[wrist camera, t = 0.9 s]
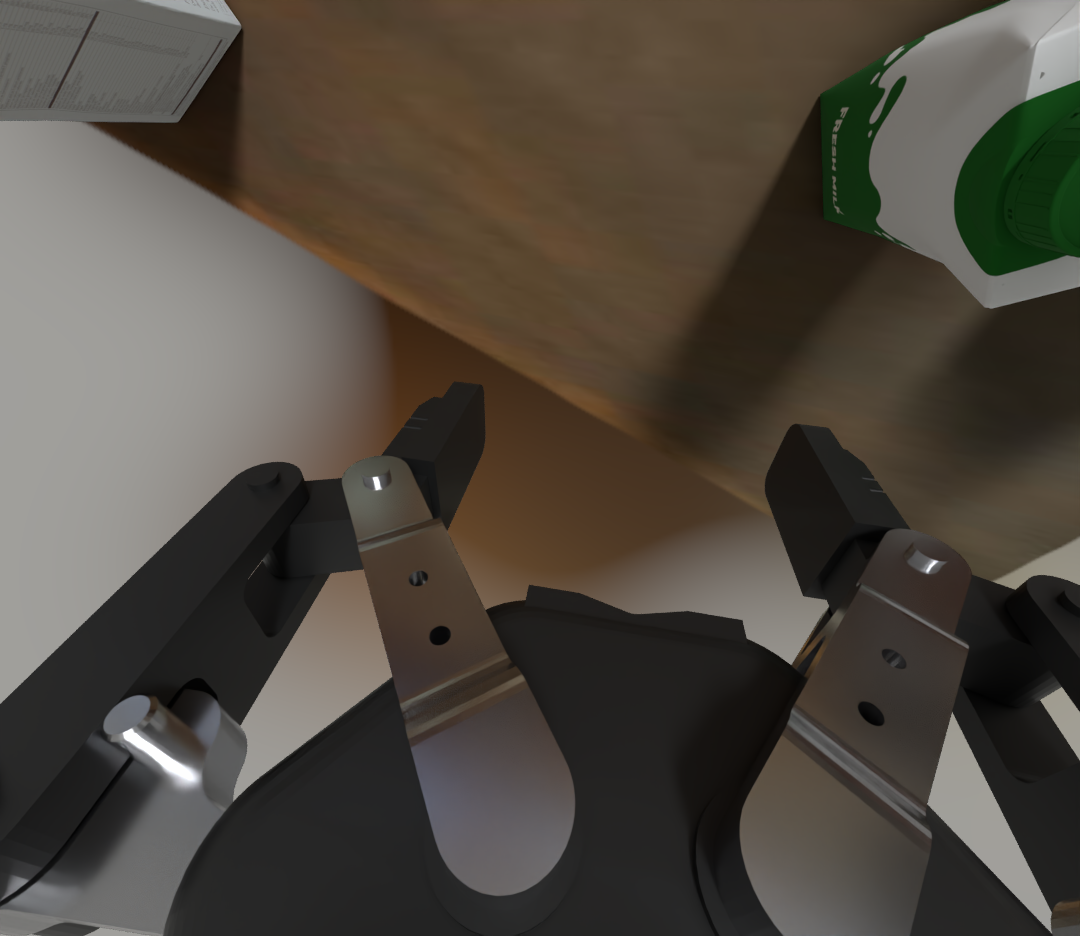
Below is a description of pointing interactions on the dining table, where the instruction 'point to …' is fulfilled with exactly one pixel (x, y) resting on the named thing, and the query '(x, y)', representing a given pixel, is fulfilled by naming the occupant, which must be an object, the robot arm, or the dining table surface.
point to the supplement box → (108, 57)
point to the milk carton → (968, 149)
